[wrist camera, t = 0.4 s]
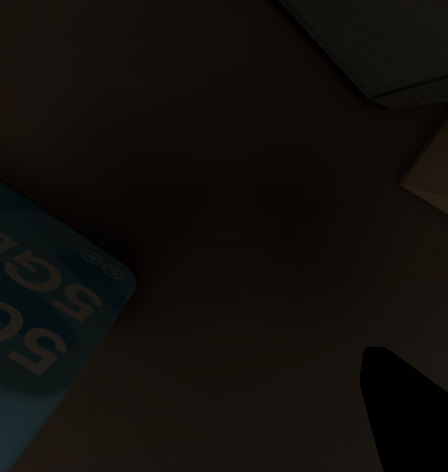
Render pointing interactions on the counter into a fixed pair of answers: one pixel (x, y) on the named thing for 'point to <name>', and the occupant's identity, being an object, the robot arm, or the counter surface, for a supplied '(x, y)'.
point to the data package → (47, 314)
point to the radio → (383, 45)
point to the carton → (430, 169)
